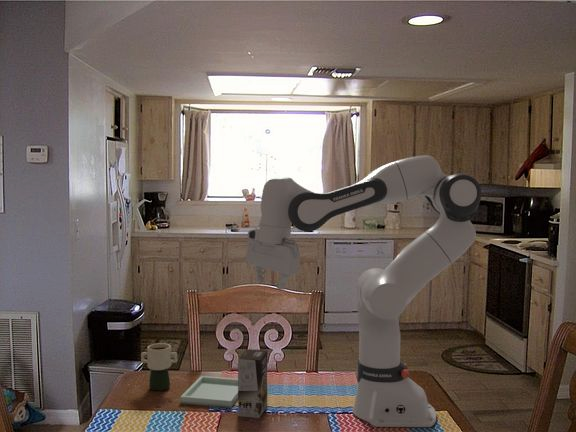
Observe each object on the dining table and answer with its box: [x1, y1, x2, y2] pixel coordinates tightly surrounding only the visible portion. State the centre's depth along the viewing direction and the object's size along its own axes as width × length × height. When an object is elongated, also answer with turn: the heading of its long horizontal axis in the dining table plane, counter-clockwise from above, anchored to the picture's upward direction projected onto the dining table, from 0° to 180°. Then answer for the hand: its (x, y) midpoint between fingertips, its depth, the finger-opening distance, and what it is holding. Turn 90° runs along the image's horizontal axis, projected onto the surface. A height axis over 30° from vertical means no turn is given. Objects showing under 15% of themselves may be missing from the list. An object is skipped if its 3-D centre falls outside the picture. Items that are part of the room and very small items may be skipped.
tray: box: [179, 375, 238, 409], centre depth 173 cm, size 15×17×2 cm
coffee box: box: [237, 348, 268, 419], centre depth 161 cm, size 9×6×16 cm
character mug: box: [140, 342, 178, 391], centre depth 177 cm, size 11×7×13 cm, turn 91°
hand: (270, 285), depth 162 cm, fingers open, 8 cm apart
